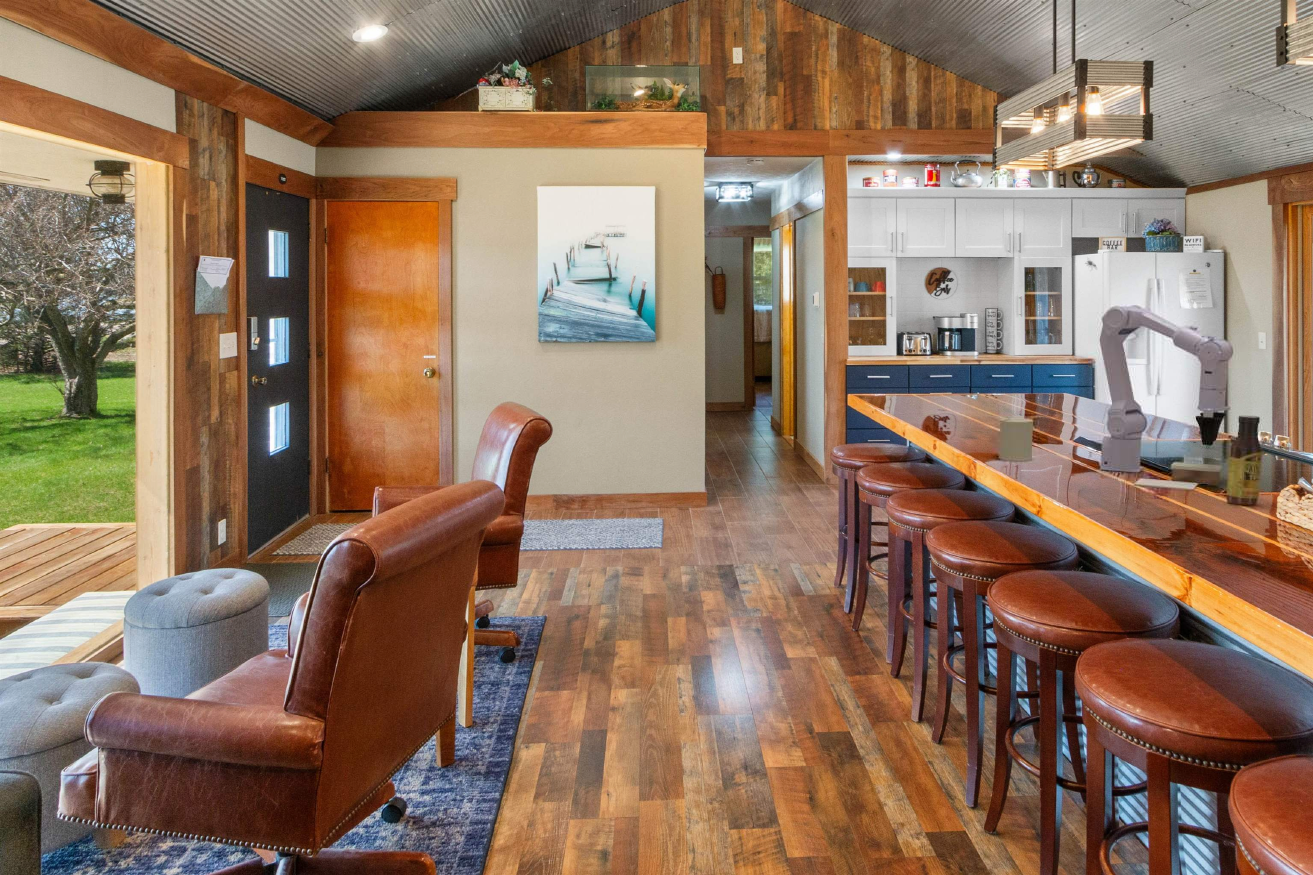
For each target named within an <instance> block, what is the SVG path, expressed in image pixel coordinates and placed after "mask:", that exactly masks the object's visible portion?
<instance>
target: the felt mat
mask: <svg viewBox="0 0 1313 875" xmlns="http://www.w3.org/2000/svg"><path fill="white" fill-rule="evenodd" d="M1133 486H1135V487H1136V486H1137V487H1146V488H1147V487H1149V488H1159V489H1170V490H1182V491H1192V492H1193V491H1195V489H1196V488H1197V487H1196V486H1199V484H1198V483H1190V482H1178V481H1171V480H1163V479H1152V478H1151V479H1150V478H1143V477H1142V478H1139V479H1138V480H1136V481H1135V483H1133Z"/></svg>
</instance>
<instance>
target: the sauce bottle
mask: <svg viewBox="0 0 1313 875" xmlns="http://www.w3.org/2000/svg"><path fill="white" fill-rule="evenodd" d="M1260 422H1261V420H1260V416H1257V415H1239V416H1238V432H1237V436H1236V437H1235V439H1234V441H1232V443H1231V446H1230V454H1229V458H1228V471H1227V480H1226V481H1227V482H1226V503H1228V504H1232V505H1239V506H1254V505H1256V504H1257V503H1258V499H1259V495H1260V485H1261V473H1262V463H1263V462H1262V461H1263V450H1262V447H1261V444H1260V440H1259V437H1258V435H1259V433H1258V431H1259V424H1260Z"/></svg>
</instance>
